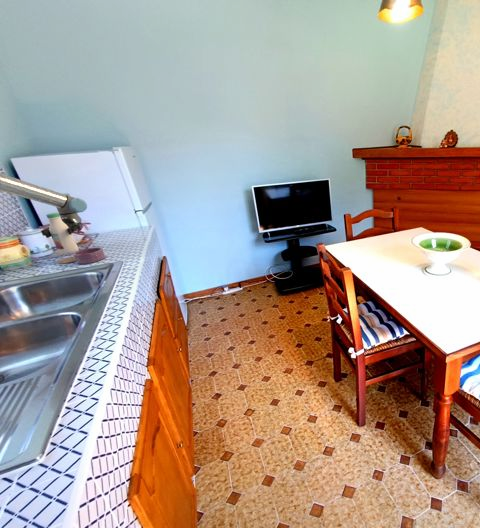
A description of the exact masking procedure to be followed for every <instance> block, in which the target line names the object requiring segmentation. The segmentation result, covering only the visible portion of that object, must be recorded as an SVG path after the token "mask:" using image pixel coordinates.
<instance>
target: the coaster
mask: <svg viewBox="0 0 480 528" xmlns="http://www.w3.org/2000/svg"><path fill="white" fill-rule="evenodd" d="M57 263H58V264H59V265H68V264H72V263H76V261H75V258H74V256H73V255H72V256H68V257H65V258H62V259H59V260H58V261H57Z"/></svg>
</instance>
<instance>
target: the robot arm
mask: <svg viewBox="0 0 480 528" xmlns="http://www.w3.org/2000/svg"><path fill="white" fill-rule="evenodd" d="M0 192H3V193H7V194H11V195H14V196H18V197H21V198H24V199H28V200H31V201H34V202H39V203H41V204H46V205H49V206H52V207H55V208H56V210H57V213H59V215H60V219H61V220H62V221H63V222H64V223H65V224H66V225H67V226H68V227H69V228H68V229H67V231H68V233H69V235H70V234H72V235H73V233H74V232H77V231H82V228H83V227H84V226H83V224H82V218H81V216H80V215H79V213H83V212H85V211H87V208H88V203H87V202H86V201H85V200H84V199H82V198H80V197H79V198H78V197H74V196H71V194H70V193H67V192H64V193H63V192H58V191H56V190H52V189H49V188H46V187H43V186H40V185H37V184H34V183H31V182H28V181H24V180H22V179H19V178H16V177H13V176H9V175H6V174H3V173H1V172H0ZM40 233H41V234H42V236H43V237H44V236H45V238H46V239H49V238H50V237H51V234H50V231H49V226H47V227H46V228H44V229H42V230H40Z"/></svg>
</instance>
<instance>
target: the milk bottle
mask: <svg viewBox="0 0 480 528" xmlns="http://www.w3.org/2000/svg"><path fill="white" fill-rule="evenodd" d="M46 218H47V220H48V221H49V226H48V227H49V231H50V234H51V236H50V237H51V239H52V241H53V243H54V246H55V248H56V250H57V252H58V254H59V255H68V254H74V253H75V252H78V251H80V250H79V247H78V244H77V242H76V240H75V237H74V235H73V233H72V234H70V235H69V233H68V231H67V229H68V228H69V227H68V226H67V225H66V224H65V223H64V222H63V221H62V220H61V217H60V215H59V212H52V213H47V214H46Z"/></svg>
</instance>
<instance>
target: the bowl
mask: <svg viewBox="0 0 480 528" xmlns="http://www.w3.org/2000/svg"><path fill="white" fill-rule="evenodd" d="M72 256H74V258H75V261H76V262H75V263H76V264H79V265H88V264H89V265H90V264H94V263H97V262H100V261H102V260H104V259H105V258H106V253H105V251H104V248H103V247H99V246H98V247H90V248H89V247H88V248H85V249H81V250H78V251H76V252H73V253H72Z"/></svg>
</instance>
